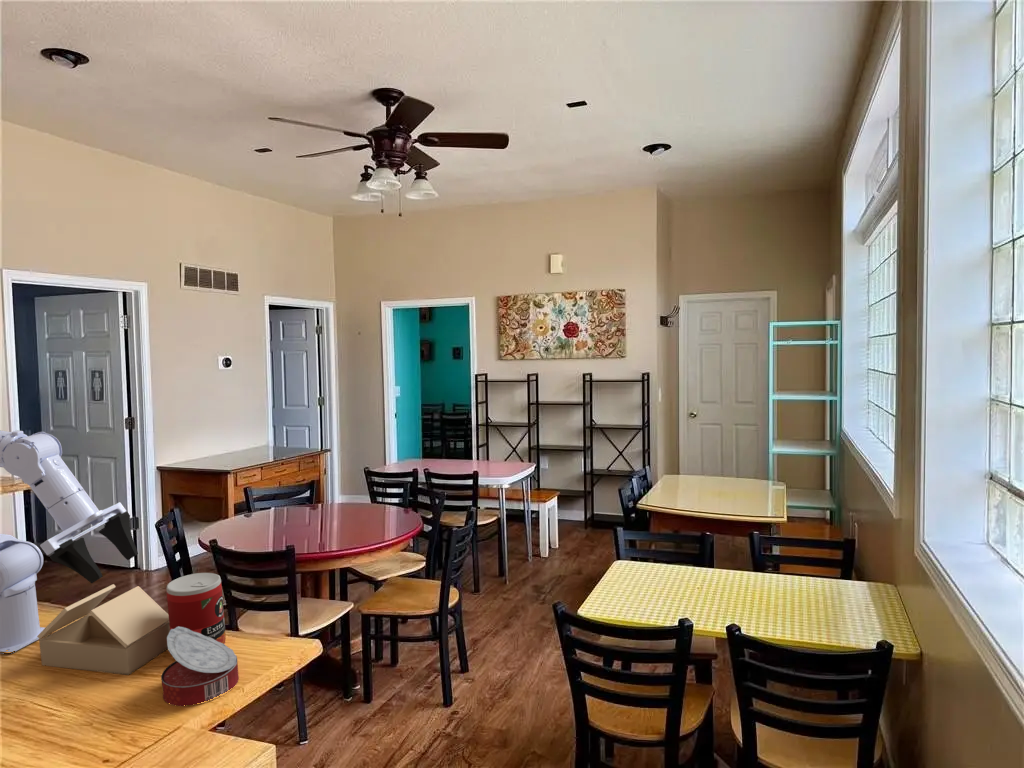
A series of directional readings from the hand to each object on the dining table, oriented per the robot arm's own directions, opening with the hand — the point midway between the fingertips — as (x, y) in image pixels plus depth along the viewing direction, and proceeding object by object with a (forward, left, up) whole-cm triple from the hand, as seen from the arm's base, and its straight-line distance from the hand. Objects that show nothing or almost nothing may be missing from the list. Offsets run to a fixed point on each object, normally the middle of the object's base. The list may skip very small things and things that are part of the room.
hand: (115, 568), depth 109 cm
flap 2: (+7, -5, -5) cm, 10 cm away
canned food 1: (+15, -1, -12) cm, 20 cm away
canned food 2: (+23, -10, -12) cm, 28 cm away
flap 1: (-3, -5, -5) cm, 8 cm away
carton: (+2, -5, -12) cm, 13 cm away
